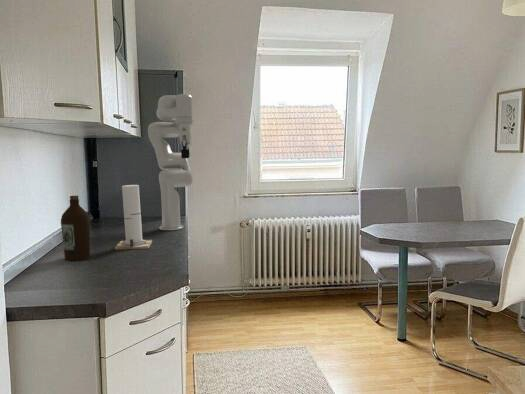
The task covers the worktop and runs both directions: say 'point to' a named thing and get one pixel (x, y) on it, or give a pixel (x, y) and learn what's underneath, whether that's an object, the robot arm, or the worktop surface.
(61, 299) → the worktop surface
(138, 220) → the cylindrical container
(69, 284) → the worktop surface
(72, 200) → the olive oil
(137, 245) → the locking base
